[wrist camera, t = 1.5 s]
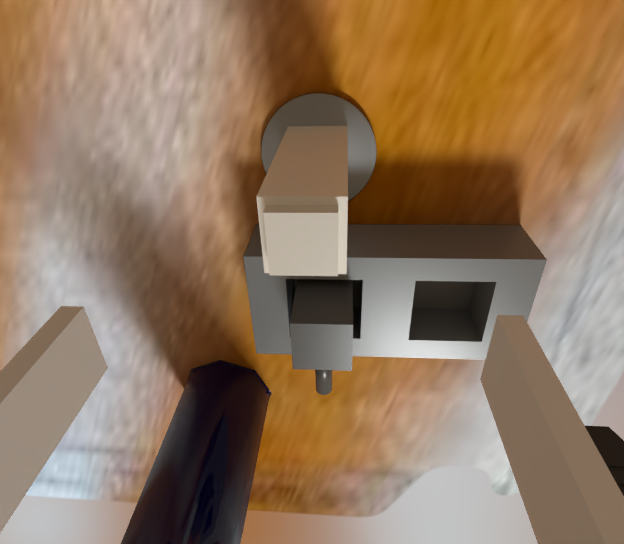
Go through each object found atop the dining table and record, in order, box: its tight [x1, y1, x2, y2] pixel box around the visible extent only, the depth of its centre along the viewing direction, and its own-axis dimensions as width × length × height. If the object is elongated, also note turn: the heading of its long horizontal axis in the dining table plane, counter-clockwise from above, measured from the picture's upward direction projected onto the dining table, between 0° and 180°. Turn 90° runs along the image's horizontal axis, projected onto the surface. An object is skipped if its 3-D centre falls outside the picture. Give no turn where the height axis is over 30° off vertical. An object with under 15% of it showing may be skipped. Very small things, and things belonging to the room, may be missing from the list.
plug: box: [256, 126, 348, 276], centre depth 24 cm, size 4×4×13 cm
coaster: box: [261, 93, 376, 200], centre depth 30 cm, size 8×8×1 cm
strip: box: [243, 224, 547, 395], centre depth 32 cm, size 10×20×9 cm, turn 92°
